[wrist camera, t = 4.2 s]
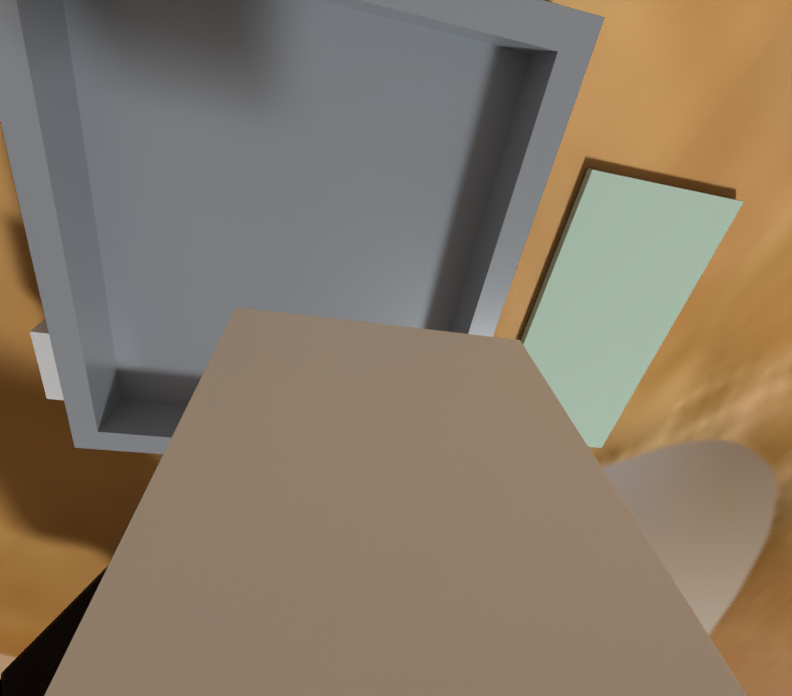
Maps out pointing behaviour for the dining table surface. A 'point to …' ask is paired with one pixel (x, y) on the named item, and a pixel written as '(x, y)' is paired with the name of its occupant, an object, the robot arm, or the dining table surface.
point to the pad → (618, 290)
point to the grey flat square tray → (269, 175)
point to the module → (382, 536)
